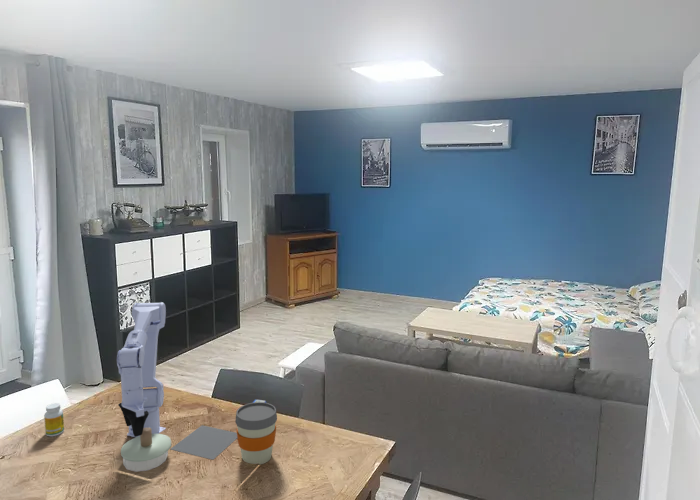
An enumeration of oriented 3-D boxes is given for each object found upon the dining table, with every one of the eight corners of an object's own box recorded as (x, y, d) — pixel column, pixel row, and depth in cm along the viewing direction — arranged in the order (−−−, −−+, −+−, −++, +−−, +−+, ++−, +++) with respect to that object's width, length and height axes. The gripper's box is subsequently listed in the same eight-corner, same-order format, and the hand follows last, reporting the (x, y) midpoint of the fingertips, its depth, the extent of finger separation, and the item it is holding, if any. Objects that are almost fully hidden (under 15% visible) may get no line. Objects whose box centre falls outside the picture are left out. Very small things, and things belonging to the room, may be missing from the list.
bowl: (114, 467, 139) (114, 455, 139) (144, 446, 150) (144, 435, 150) (147, 476, 135) (146, 463, 135) (175, 454, 146) (175, 442, 146)
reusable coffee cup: (284, 450, 150) (284, 405, 148) (264, 472, 138) (264, 424, 136) (249, 442, 154) (249, 399, 152) (227, 463, 142) (226, 416, 140)
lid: (112, 448, 142) (111, 430, 141) (157, 431, 152) (156, 414, 151) (134, 467, 133) (133, 448, 132) (180, 447, 143) (179, 429, 142)
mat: (170, 450, 148) (170, 449, 148) (201, 426, 163) (201, 425, 163) (213, 461, 143) (213, 459, 143) (241, 435, 158) (241, 433, 158)
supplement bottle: (44, 432, 158) (42, 405, 157) (62, 427, 162) (61, 400, 160) (46, 438, 154) (44, 411, 153) (65, 433, 157) (63, 406, 156)
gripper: (154, 391, 137) (156, 435, 139) (138, 375, 148) (140, 416, 149) (128, 398, 132) (130, 443, 134) (114, 381, 143) (116, 423, 145)
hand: (134, 430), depth 141 cm, fingers open, 7 cm apart
